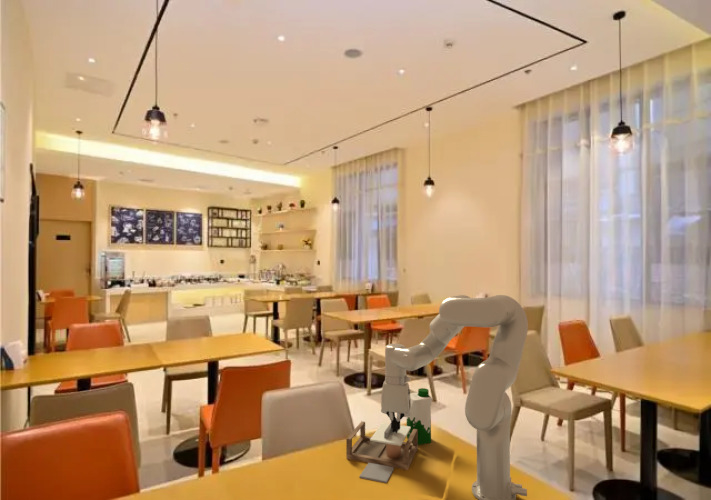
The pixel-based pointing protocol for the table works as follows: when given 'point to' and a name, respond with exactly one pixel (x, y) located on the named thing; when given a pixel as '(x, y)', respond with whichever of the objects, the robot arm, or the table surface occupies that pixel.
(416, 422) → the milk carton
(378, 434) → the lid
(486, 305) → the robot arm
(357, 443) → the wooden frame crate
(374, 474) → the trivet
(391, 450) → the peach rounded knob
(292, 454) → the table surface
